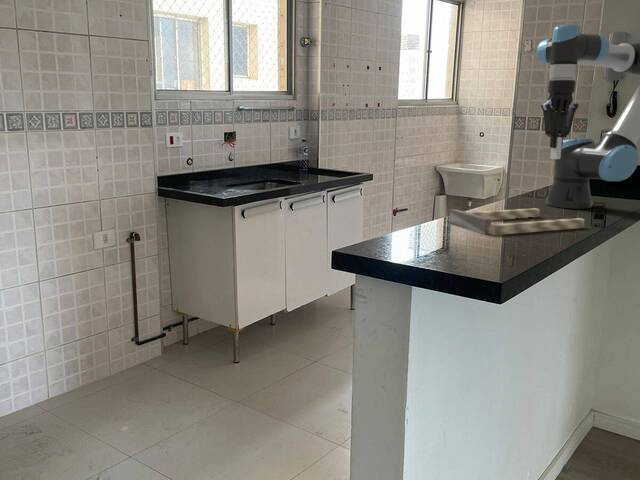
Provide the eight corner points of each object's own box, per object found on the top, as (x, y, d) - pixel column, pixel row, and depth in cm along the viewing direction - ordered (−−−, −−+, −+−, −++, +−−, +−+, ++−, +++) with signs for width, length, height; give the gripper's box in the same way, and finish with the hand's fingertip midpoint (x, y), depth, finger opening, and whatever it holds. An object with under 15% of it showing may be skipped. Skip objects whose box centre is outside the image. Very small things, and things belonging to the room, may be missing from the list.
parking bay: (534, 215, 190) (535, 203, 189) (583, 227, 172) (585, 214, 171) (445, 222, 178) (446, 208, 177) (488, 235, 160) (489, 220, 159)
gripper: (568, 80, 186) (561, 157, 191) (536, 79, 181) (530, 158, 186) (588, 79, 179) (580, 159, 184) (555, 78, 174) (548, 160, 179)
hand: (555, 158), depth 185 cm, fingers closed
